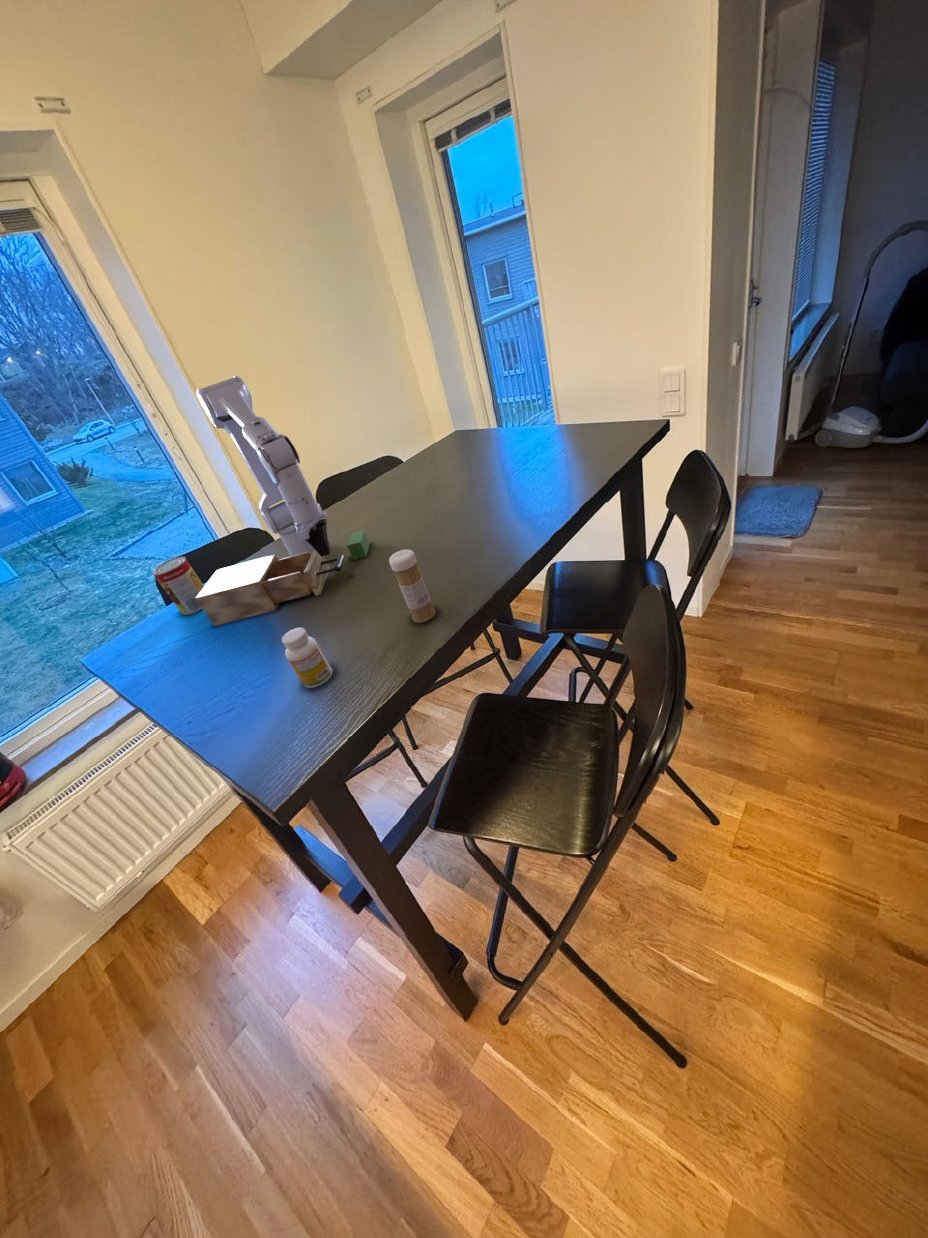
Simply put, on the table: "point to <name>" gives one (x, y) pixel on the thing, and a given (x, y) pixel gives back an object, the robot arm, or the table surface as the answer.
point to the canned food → (180, 584)
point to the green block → (358, 545)
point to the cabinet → (237, 592)
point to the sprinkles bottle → (412, 585)
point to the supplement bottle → (306, 658)
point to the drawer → (298, 575)
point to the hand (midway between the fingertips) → (325, 554)
